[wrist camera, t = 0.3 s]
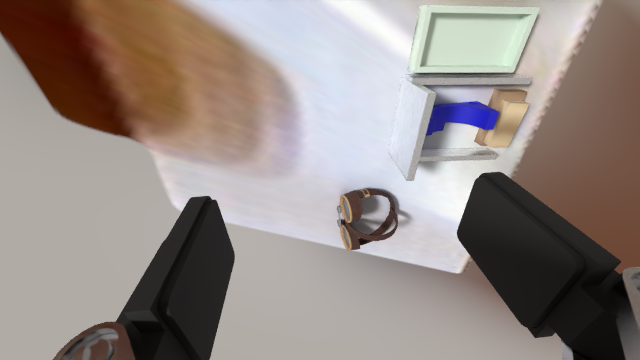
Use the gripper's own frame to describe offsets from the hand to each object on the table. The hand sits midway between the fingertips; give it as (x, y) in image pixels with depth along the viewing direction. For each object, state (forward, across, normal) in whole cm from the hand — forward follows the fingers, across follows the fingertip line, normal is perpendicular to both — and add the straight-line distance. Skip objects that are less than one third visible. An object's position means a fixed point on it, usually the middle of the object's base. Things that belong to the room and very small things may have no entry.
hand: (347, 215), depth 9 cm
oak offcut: (+34, -34, +11) cm, 50 cm away
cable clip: (+36, -24, +10) cm, 45 cm away
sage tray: (+36, -25, -2) cm, 44 cm away
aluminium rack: (+36, -25, +10) cm, 45 cm away
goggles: (+37, -11, +32) cm, 50 cm away
